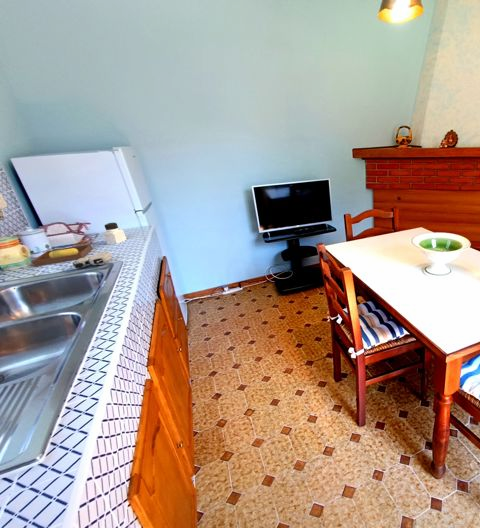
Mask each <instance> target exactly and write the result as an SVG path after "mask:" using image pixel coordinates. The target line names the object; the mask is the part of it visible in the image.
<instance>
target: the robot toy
mask: <svg viewBox="0 0 480 528" xmlns="http://www.w3.org/2000/svg"><path fill="white" fill-rule="evenodd" d="M111 259H112V255H111V250H108V251H102V252H98V253H95V254H92V255H91V256H90V257H89V256H85V257H84V258H80V259H78V260H74V262H72V266H70V269H79V268H81V269H82V268H83V269H84V268H86V267H88V266H91V265H93V266H96V265H98V266H103V265H105V264H106V263H108V262H109V261H110V260H111Z"/></svg>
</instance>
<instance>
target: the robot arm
mask: <svg viewBox="0 0 480 528" xmlns="http://www.w3.org/2000/svg"><path fill="white" fill-rule="evenodd" d="M6 208H8V204H7V201H6V200H5V198H4V196H3V195H2V193H0V221H4V220H6V216H5V210H4V209H6Z"/></svg>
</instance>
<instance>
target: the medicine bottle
mask: <svg viewBox="0 0 480 528" xmlns="http://www.w3.org/2000/svg"><path fill="white" fill-rule="evenodd" d="M103 226H104V229H105V232H103V233H102V234H103V237H104V239H105V242H106V244H107V245H118V244H121V243H123V242H126V241H127V236H126V234H125V231H124V229H119V225H118V223H117V222H108V223H105V224H104V225H103ZM125 240H126V241H125ZM122 241H123V242H122ZM120 242H121V243H120Z"/></svg>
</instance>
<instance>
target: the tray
mask: <svg viewBox="0 0 480 528" xmlns="http://www.w3.org/2000/svg"><path fill="white" fill-rule="evenodd" d="M71 248H75V249H77V250H78V254H75V255H68V256H62V257H56V258H50V257H49V253H50V252H52V251H58V250H64V249H71ZM92 250H93V245H92V244H84V245H77V246H69V247H64V248H57V249H51V250H47V251H45V252H43V253H42V254H40V255H39V256H37V257H36V258H35V259H33V260H31V263H32V265H33V267H34V268H35V267H36V268H37V267H42V266H48V265H49V266H50V265H55V264H61V263H66V262H72V261H77V260H78V259H80V258H84V257H87V255H88V254H89V253H90V252H91V251H92Z"/></svg>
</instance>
